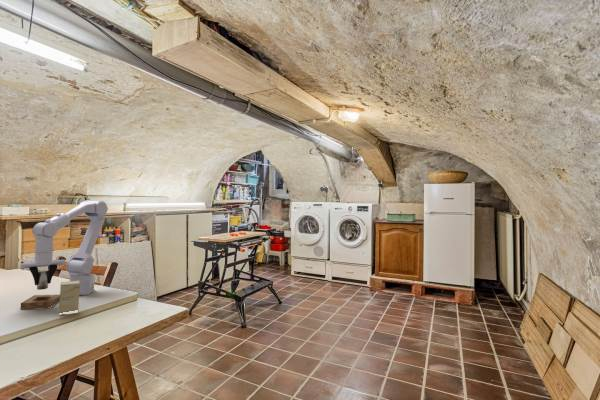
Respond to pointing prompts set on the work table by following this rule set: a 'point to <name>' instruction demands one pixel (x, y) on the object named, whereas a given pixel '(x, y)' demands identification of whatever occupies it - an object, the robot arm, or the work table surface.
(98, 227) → the robot arm
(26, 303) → the socket block
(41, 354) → the work table surface
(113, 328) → the work table surface
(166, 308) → the work table surface
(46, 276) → the pin
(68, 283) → the skincare box
